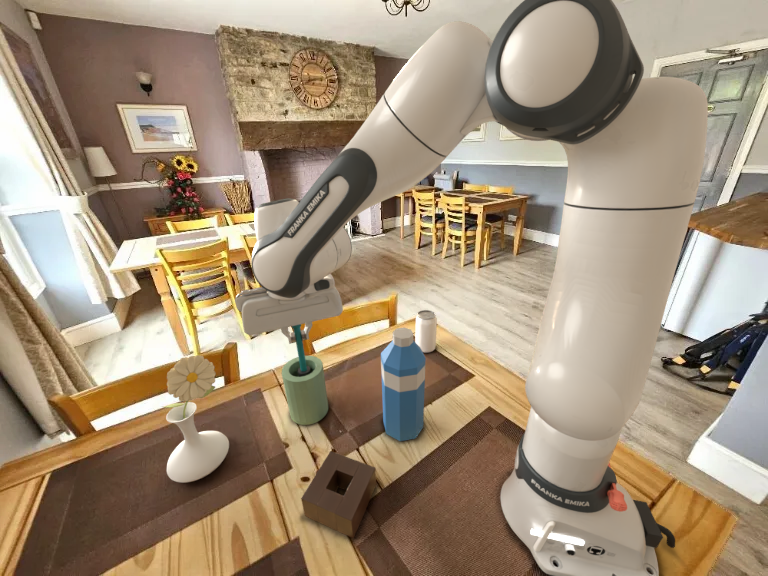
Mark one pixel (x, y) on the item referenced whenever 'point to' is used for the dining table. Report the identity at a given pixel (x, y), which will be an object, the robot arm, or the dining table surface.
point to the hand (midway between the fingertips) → (299, 340)
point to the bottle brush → (301, 352)
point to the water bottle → (403, 386)
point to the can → (426, 330)
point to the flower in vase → (198, 448)
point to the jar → (305, 391)
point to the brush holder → (333, 506)
